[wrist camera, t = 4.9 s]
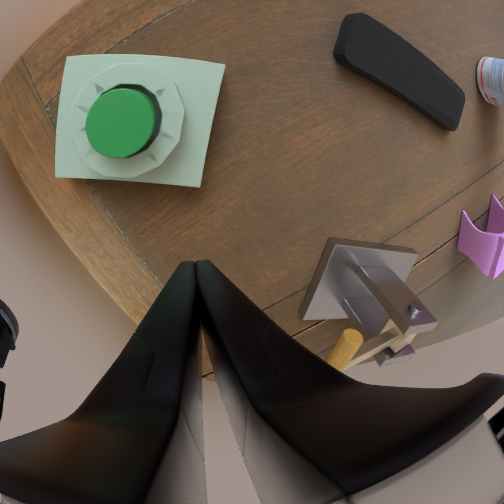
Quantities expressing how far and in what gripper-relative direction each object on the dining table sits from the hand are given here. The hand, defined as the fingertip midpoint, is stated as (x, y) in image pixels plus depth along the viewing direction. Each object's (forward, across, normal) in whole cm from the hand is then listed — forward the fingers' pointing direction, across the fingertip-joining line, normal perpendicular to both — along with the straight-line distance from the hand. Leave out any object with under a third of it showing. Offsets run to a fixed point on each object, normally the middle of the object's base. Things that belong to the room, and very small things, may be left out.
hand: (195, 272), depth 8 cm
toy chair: (+13, -36, +6) cm, 39 cm away
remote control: (+13, -18, -9) cm, 24 cm away
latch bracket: (+12, -17, +12) cm, 24 cm away
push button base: (+12, +4, -4) cm, 13 cm away
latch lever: (+4, -13, +11) cm, 18 cm away
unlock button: (+9, +3, -4) cm, 10 cm away
